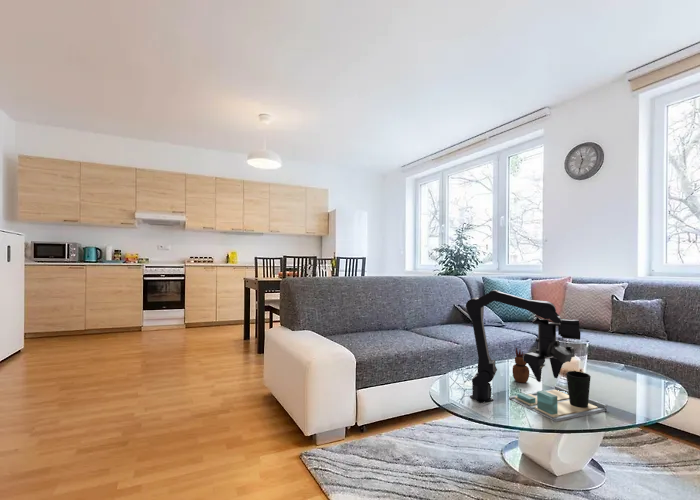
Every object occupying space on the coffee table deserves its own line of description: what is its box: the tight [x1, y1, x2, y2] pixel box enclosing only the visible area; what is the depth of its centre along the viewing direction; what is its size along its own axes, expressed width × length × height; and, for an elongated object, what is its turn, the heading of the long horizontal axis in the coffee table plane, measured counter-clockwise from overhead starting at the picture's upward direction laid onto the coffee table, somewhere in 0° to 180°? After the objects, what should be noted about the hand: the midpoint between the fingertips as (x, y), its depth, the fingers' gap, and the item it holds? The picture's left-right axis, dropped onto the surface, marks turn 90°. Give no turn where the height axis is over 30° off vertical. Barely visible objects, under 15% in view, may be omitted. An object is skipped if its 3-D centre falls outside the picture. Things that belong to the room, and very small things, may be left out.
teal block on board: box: [535, 390, 598, 418], centre depth 135 cm, size 22×8×7 cm, turn 110°
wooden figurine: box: [512, 347, 530, 384], centre depth 165 cm, size 7×6×15 cm
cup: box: [565, 370, 591, 408], centre depth 137 cm, size 8×8×12 cm
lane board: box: [508, 385, 608, 422], centre depth 140 cm, size 25×21×2 cm
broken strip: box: [515, 389, 569, 406], centre depth 144 cm, size 22×8×2 cm, turn 110°
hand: (547, 379), depth 134 cm, fingers open, 9 cm apart
